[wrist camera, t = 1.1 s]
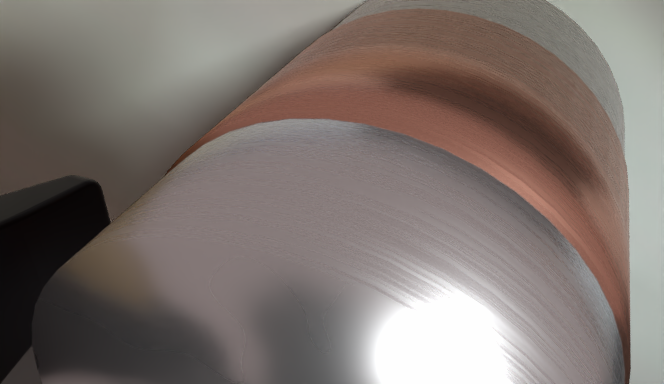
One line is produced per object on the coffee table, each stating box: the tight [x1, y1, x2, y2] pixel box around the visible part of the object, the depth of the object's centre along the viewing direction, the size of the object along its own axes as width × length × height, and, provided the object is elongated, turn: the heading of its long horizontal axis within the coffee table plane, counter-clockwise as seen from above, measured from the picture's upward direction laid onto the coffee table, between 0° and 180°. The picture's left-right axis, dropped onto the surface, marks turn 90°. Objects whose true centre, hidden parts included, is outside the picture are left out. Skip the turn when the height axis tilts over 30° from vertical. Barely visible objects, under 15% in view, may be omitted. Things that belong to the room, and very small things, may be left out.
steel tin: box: [32, 0, 631, 384], centre depth 8 cm, size 6×6×7 cm
